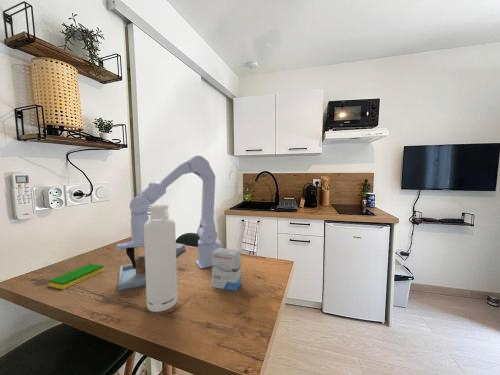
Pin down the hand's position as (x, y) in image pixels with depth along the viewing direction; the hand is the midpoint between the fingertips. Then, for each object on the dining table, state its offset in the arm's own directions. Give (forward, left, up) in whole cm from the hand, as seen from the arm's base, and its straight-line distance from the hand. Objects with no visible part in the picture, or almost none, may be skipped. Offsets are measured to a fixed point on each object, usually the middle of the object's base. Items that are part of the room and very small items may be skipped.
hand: (141, 266), depth 76 cm
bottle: (-4, +21, -4) cm, 22 cm away
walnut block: (0, 0, -2) cm, 2 cm away
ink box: (-24, +22, -4) cm, 33 cm away
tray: (0, 0, -3) cm, 3 cm away
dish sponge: (+20, -10, -4) cm, 23 cm away
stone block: (-12, -18, -4) cm, 22 cm away
